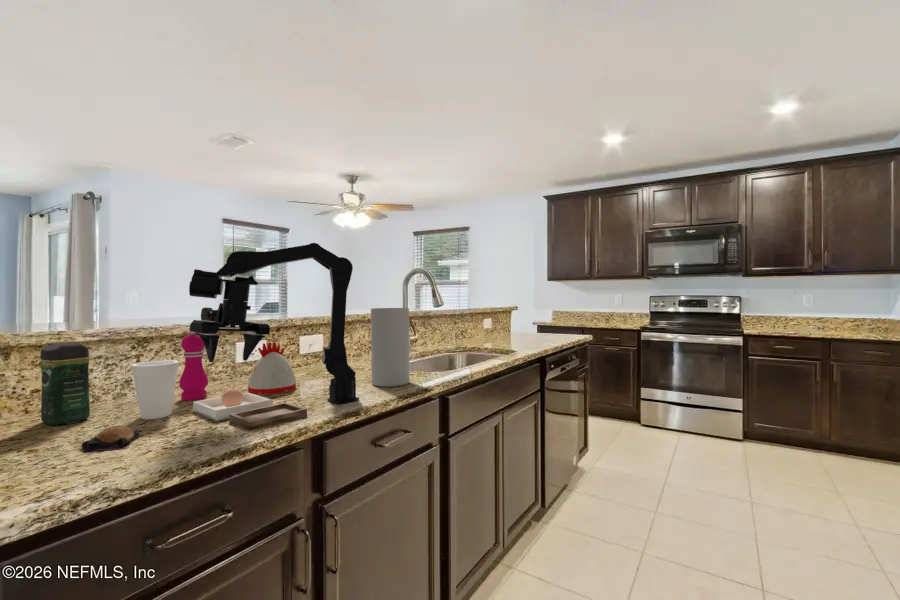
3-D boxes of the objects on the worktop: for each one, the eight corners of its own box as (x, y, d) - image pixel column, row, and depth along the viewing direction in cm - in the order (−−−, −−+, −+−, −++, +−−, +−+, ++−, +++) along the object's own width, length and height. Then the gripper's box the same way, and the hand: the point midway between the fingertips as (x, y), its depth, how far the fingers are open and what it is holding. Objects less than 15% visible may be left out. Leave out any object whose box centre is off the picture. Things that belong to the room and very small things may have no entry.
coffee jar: (95, 419, 103) (94, 342, 102) (52, 428, 96) (51, 345, 96) (78, 413, 107) (77, 340, 107) (36, 422, 101) (34, 343, 100)
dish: (247, 401, 119) (246, 392, 119) (271, 409, 111) (271, 399, 111) (193, 411, 109) (193, 401, 109) (215, 421, 100) (215, 410, 100)
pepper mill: (173, 399, 122) (172, 329, 122) (196, 394, 128) (196, 327, 128) (191, 401, 119) (190, 330, 119) (214, 396, 126) (213, 328, 125)
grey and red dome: (240, 390, 134) (239, 342, 134) (282, 383, 144) (281, 338, 144) (261, 396, 125) (260, 345, 125) (304, 388, 135) (303, 341, 135)
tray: (285, 409, 110) (285, 402, 110) (307, 416, 104) (306, 408, 104) (229, 421, 99) (229, 414, 99) (249, 430, 93) (249, 422, 93)
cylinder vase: (383, 378, 150) (382, 307, 150) (415, 381, 146) (414, 308, 146) (364, 386, 138) (363, 309, 138) (399, 388, 134) (398, 309, 134)
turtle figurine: (95, 440, 89) (95, 423, 89) (144, 435, 92) (143, 418, 92) (73, 458, 79) (73, 438, 79) (128, 451, 83) (128, 432, 83)
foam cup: (155, 422, 100) (154, 366, 100) (122, 420, 102) (121, 365, 102) (187, 411, 109) (187, 360, 109) (157, 409, 111) (156, 359, 111)
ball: (238, 404, 113) (238, 385, 113) (246, 407, 110) (246, 388, 110) (218, 408, 109) (218, 388, 109) (226, 411, 106) (226, 391, 106)
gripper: (248, 301, 122) (242, 355, 121) (180, 295, 106) (172, 358, 105) (274, 304, 116) (267, 361, 116) (207, 298, 100) (198, 365, 100)
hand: (228, 361), depth 109 cm, fingers open, 9 cm apart
